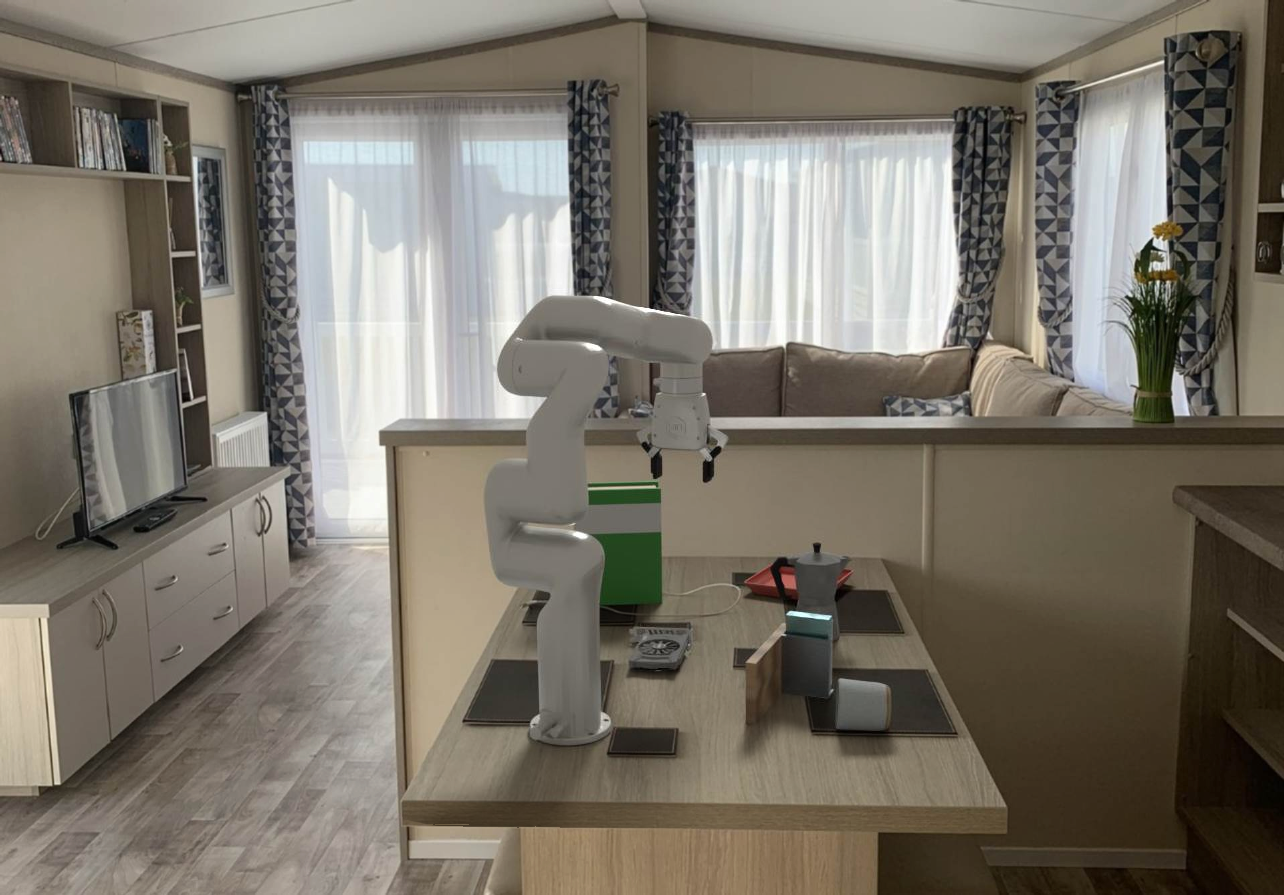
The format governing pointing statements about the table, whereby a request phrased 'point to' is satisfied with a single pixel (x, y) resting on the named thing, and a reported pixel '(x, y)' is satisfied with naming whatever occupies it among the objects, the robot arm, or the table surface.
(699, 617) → the table surface
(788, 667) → the bookend and books
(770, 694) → the wooden board
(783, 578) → the plant saucer
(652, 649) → the graphics card
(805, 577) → the coffeepot
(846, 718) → the ceramic mug
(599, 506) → the hardback book
